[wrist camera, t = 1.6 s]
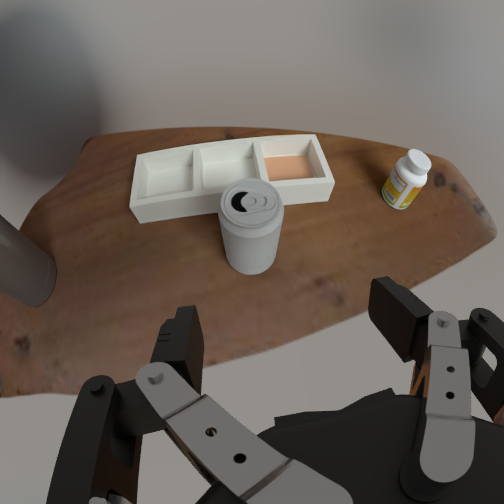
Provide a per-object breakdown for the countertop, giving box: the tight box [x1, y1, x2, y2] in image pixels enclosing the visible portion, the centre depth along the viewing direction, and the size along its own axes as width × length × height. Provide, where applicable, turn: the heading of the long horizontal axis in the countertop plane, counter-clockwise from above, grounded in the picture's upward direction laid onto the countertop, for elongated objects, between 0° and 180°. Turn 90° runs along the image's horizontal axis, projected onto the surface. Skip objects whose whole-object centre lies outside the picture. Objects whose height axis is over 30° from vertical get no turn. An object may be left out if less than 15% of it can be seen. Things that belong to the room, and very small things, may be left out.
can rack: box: [129, 134, 335, 224], centre depth 39 cm, size 28×10×4 cm, turn 98°
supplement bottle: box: [382, 149, 431, 209], centre depth 36 cm, size 5×5×10 cm
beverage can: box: [218, 178, 284, 275], centre depth 31 cm, size 6×6×12 cm
